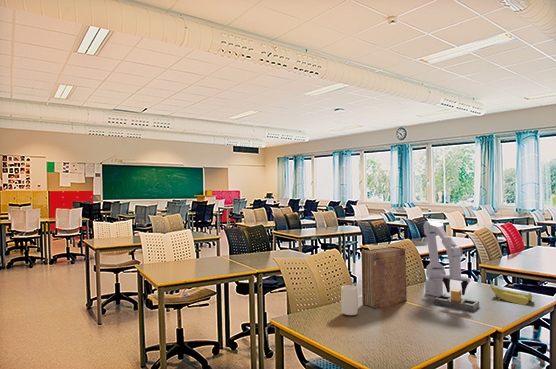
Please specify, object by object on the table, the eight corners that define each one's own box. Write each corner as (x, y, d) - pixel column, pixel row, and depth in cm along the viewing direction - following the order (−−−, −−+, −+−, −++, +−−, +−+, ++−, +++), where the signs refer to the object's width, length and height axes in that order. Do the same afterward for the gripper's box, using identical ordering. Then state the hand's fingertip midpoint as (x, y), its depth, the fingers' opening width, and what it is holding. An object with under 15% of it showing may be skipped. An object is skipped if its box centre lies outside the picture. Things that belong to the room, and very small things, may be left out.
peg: (451, 305, 198) (450, 290, 198) (453, 303, 201) (453, 289, 201) (459, 307, 195) (458, 292, 195) (461, 305, 198) (461, 290, 198)
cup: (358, 318, 182) (357, 289, 182) (341, 317, 183) (340, 289, 184) (358, 312, 190) (357, 285, 190) (341, 311, 192) (341, 284, 192)
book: (374, 309, 194) (372, 253, 195) (362, 305, 202) (360, 250, 203) (406, 301, 207) (405, 248, 208) (394, 297, 215) (392, 246, 216)
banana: (533, 296, 203) (529, 292, 197) (531, 309, 201) (527, 305, 195) (493, 287, 217) (489, 283, 211) (491, 299, 215) (486, 295, 209)
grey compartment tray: (434, 303, 201) (433, 298, 201) (440, 299, 208) (440, 294, 208) (473, 311, 187) (473, 305, 187) (479, 307, 194) (479, 301, 194)
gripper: (438, 267, 200) (439, 292, 200) (466, 271, 190) (467, 297, 190) (443, 265, 205) (444, 290, 205) (471, 269, 195) (472, 294, 195)
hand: (455, 293), depth 198 cm, fingers open, 7 cm apart
